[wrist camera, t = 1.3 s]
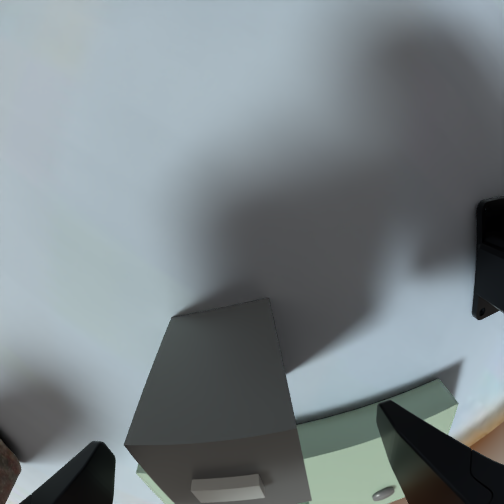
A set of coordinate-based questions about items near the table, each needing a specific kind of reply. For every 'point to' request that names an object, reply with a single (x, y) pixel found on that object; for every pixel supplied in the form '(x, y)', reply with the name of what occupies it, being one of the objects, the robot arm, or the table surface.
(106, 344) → the table surface
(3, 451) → the brown cylinder
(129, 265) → the table surface
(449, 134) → the table surface
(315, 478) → the socket box
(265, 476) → the block
